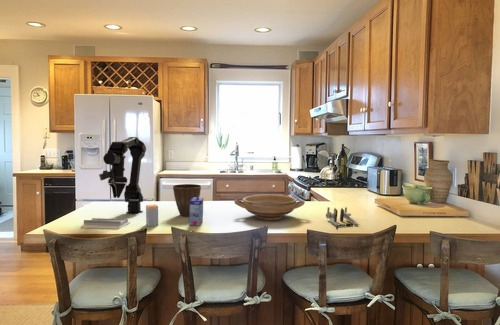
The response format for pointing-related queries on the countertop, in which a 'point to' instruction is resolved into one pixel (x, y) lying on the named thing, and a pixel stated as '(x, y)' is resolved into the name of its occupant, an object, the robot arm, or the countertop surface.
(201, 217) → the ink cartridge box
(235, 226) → the countertop surface
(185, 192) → the plant pot
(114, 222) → the rail plate
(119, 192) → the robot arm
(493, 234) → the countertop surface
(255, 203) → the ceramic bowl
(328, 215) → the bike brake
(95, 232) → the countertop surface
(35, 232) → the countertop surface
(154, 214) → the block
